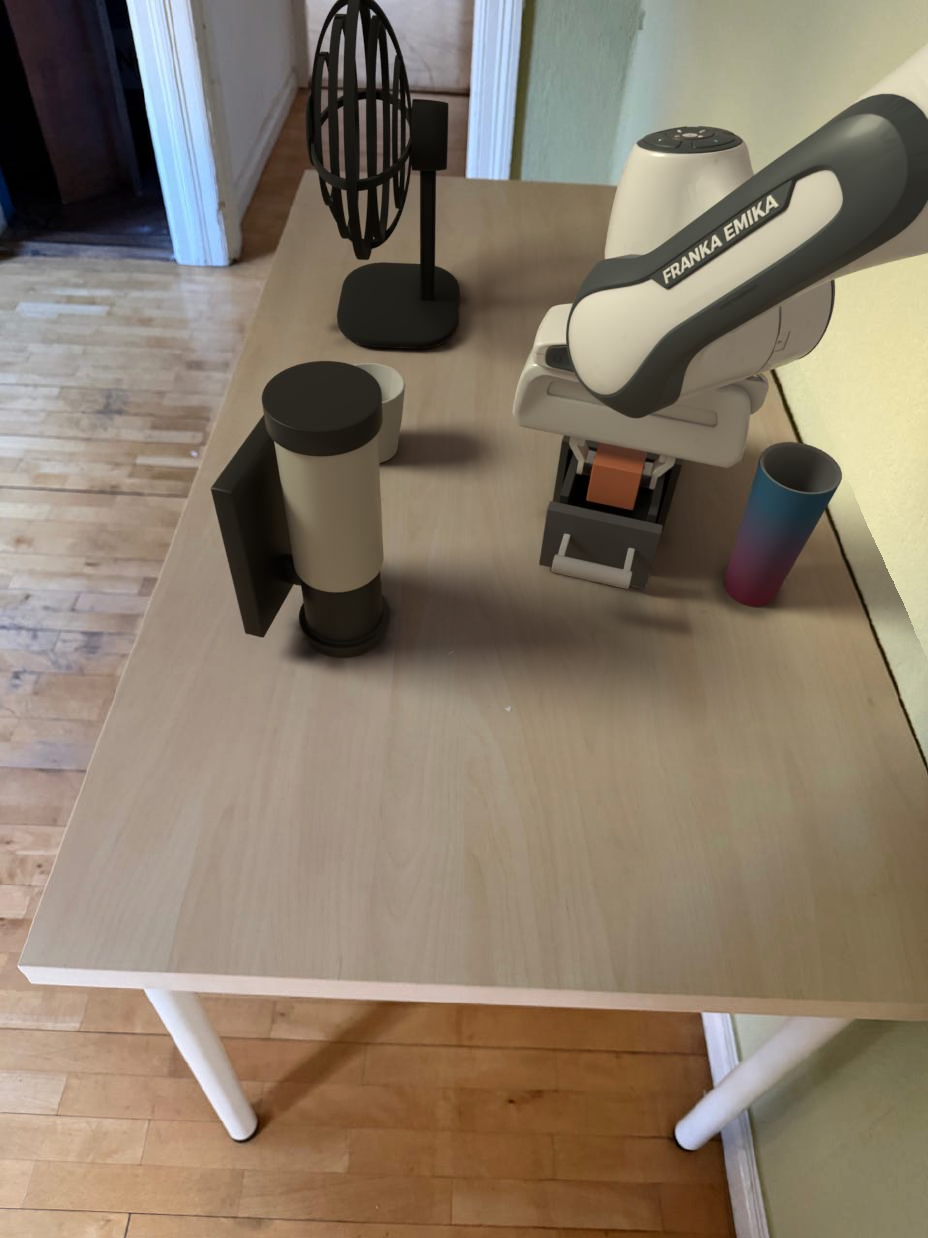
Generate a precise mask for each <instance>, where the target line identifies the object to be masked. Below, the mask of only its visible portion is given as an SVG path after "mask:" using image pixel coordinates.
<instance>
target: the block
mask: <svg viewBox="0 0 928 1238" xmlns="http://www.w3.org/2000/svg"><path fill="white" fill-rule="evenodd" d="M646 455H647V452H645V451H640V450H635V449H630V448H625V447H620V446H615V445H610V444H605V443H600V442H599V445H598V449H597V452H596V456H595V459H594V462H593V467H592V472H591V478H590V483H589V488H588V494H587V499H586V500H587V501H591V502H595V503H600V504H605V505H609V506H614V507H619V508H624V509H628V510H633V509H634V505H635V501H636V497H637V493H638V488H639V484H640V480H641V476H642V472H643V468H644V463H645V459H646Z"/></svg>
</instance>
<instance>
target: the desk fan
mask: <svg viewBox="0 0 928 1238" xmlns="http://www.w3.org/2000/svg"><path fill="white" fill-rule="evenodd" d="M344 7H346V13H339V11H341V10H342V9H343V8H344ZM371 11H372V12H373V15H371ZM359 16H360V23H361V30H362V39H363V50H364V63H365V79H366V80H365V81H366V82H365V88H362V89H359V83H358V69H357V58H356V54H357V37H358V24H359ZM331 22H332V25H331V29H330V30H331V31H330V37H329V48H328V49H329V51H323V50H322V51H321V48H322V45H323V43H324V42H323V41H324V38H325V35H326V33H327V30H328V28H329V26H330V24H331ZM342 33H343V39H344V41H343V70H342V71H343V74H342V95H341V96H339V95H338V94H339V92H338V89H339V82H338V81H339V61H340V47H341V38H342ZM387 34H388V36H389V38H390V40H391V43H392V45H393V48H394V50H395V53H396V54H395V56H394V62H393V73H392V74H393V75H392V91H391V88H390V87H391V86H390V62H389V61H390V60H389V47H388V36H387ZM378 50H379V60H380V61H379V63H380V75H381V89H379V88H377V59H378ZM313 57H314V58H313V65H312V71H311V81H310V82H311V83H310V94H309V95H307V99H306V104H305V140H306V149H307V156H308V160H309V163H310V165H311V166H312V167H314V169H315V171H316V173H317V175H318V181H319V182H318V183H319V187H320V192H321V193H320V194H321V197H322V200H323V201H322V202H323V203H324V205H325V206H327V207H328V209H329V211H330V213H331V215H332V217H333V219H334V222H335V223H336V226H337V230H338V233H339V236H340V238H341V239H344V240H349V241H350V242H351V244H352V249H353V252H354V255H355V258H356V260H358V261H368V260H369V261H370V258H371V255H372V251H373V249H377V248H378V247H381V246H382V245H384V243H386V242H387V241H388V239H389V238H390V237H391V236H392V234H393V233H394V231H395V230H396V228H397V226H398V223H399V221H400V219H401V217H402V214H403V211H404V208H405V204H406V201H407V197H408V193H409V186H410V181H411V173H412V171H414V172H415V171H416V172H419V263H411V262H410V263H409V262H407V263H406V262H386V261H385V262H383V261H382V262H381V261H380V262H372V263H368V264H364V265H361V266H358V267H357V268H355V269H353V270H352V271H351V272H349V273H348V274H347V275H346V277H345V278H344V280H343V281H342V285H341V290H340V296H339V302H338V305H337V311H336V321H337V323H336V324H337V327H338V329H339V331H340V333H341V334H342V335H343V336H344V338H346V339H347V340H349V341H351V342H353V343H354V344H357V345H359V346H364V347H372V348H390V349H391V348H392V349H393V348H394V349H414V350H415V349H429V348H434V347H437V346H440V345H442V344H444V343H446V342H447V341H448V340H450V339H451V338H452V337H453V336H454V335H455V334H456V332H457V330H458V328H459V326H460V325H459V323H460V305H461V304H460V301H461V299H460V297H461V296H460V295H461V287H460V283H459V281H458V280H457V278H456V277H455V276H454V275H453V274H452V273H451V272H450V271H448V270H447V269H445V268H443V267H441V266H437V265H436V218H437V216H436V214H437V213H436V212H437V207H436V206H437V172H438V171H439V172H440V171H445V170H447V169H448V153H449V152H448V149H449V148H448V147H449V146H448V145H449V103H448V102H447V101H441V100H434V99H423V98H412V97H411V90H410V84H409V78H408V73H407V68H406V65H405V60H404V56H403V52H402V50H401V46H400V43H399V41H398V37H397V35H396V32H395V31H394V28H393V26H392V24H391V21H390V20H389V18H388V17H387V15H386V13H385V12H384V10H383V8H381V6H380V5H379V4H378V2H376V1H375V0H336V1H335V2H334V4H333V5H332V6H331V8H330V9H329V11H328V13H327V15H326V18H325V19H324V22H323V24H322V27H321V29H320V32H319V36H318V40H317V44H316V47H315V52H314V56H313ZM324 66H326V70H327V106H326V107H325V108H324V110H323V111H322V90H323V89H322V84H323V76H324V75H323V73H324ZM364 100H365V140H366V141H365V147H366V149H365V150H366V151H365V152H366V176H367V177H364V178H360V169H361V168H360V167H361V162H360V160H361V154H360V153H361V138H360V137H361V135H360V133H361V131H360V102H359V101H364ZM377 101H382V104H381V105H382V171H381V172H379V173H378V105H377V104H378V103H377ZM406 104H407V105H406ZM341 108H342V109H343V110H342V120H343V121H342V123H343V157H344V160H343V161H344V172H345V173H344V176H345V177H343V176H342V177H341V170H340V169H341V168H340V124H339V109H341ZM399 111H400V112H399ZM399 113H400V147H399ZM326 121H327V122H328V123H327V126H328V127H327V129H328V131H327V132H328V153H329V155H328V156H329V169H330V170H327V168H326V167H325V164H324V163H325V162H324V153H323V137H322V136H323V135H322V134H323V133H322V127H323V125H324V124H325V123H326ZM407 125H408V127H409V128H408V129H409V131H408V132H409V137H408V141H407ZM399 148H400V150H399ZM399 151H400V153H399ZM399 155H400V156H399ZM407 161H408V163H407ZM406 163H407V164H408V166H407V174H406ZM391 179H392V189H393V202H394V207H395V209H396V210H397V212H396V214H395V216H394V218H393V221H392V222H391V224H390V225H389V227H388V223H389V209H390V190H391V189H390V185H391ZM327 184H328V185H330V186H331V188H330V189H331V190H330V191H329V189H328V186H327ZM379 186H381V200H380V201H381V203H380V212H379V199H378V187H379ZM343 191H345V193H346V194H345V195H346V205H347V215H348V219H347V221H346V216H345V210H344V202H343V194H342V192H343ZM363 191H367V194H366V195H367V196H366V213H365V214H366V215H365V226H364V233H363V234H364V236H363V235H362V227H361V219H360V208H359V207H360V206H359V196H360V192H363Z"/></svg>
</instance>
